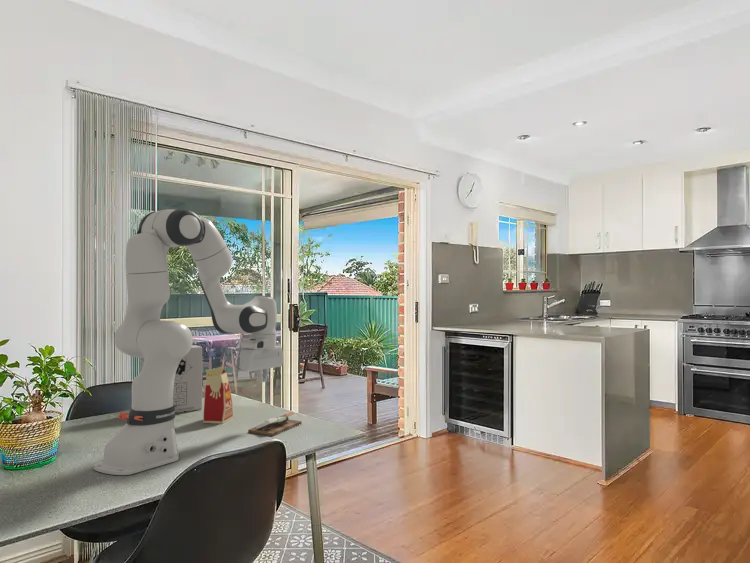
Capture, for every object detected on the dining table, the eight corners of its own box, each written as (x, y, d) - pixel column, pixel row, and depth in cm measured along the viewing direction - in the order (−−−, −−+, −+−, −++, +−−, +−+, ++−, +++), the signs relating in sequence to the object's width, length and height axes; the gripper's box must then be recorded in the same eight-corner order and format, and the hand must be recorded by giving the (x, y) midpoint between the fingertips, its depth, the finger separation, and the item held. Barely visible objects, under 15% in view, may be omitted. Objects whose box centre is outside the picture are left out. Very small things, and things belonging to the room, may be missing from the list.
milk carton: (233, 417, 194) (233, 363, 195) (224, 423, 185) (224, 367, 185) (210, 416, 195) (210, 363, 195) (199, 423, 186) (199, 367, 186)
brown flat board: (273, 436, 169) (273, 429, 169) (248, 432, 174) (248, 425, 174) (301, 423, 185) (301, 417, 185) (278, 421, 189) (278, 414, 189)
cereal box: (196, 406, 213) (197, 345, 214) (202, 409, 207) (202, 346, 207) (139, 413, 201) (140, 348, 201) (143, 417, 195) (144, 350, 195)
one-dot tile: (269, 423, 172) (268, 420, 172) (256, 429, 174) (255, 426, 174) (277, 420, 175) (275, 417, 176) (264, 426, 178) (262, 423, 178)
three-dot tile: (287, 416, 181) (286, 413, 181) (274, 422, 183) (273, 419, 183) (293, 414, 184) (292, 411, 185) (281, 419, 187) (279, 417, 187)
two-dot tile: (279, 422, 176) (278, 418, 176) (265, 423, 179) (264, 420, 179) (286, 419, 180) (285, 416, 180) (272, 421, 182) (271, 417, 182)
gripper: (273, 340, 192) (272, 378, 192) (237, 343, 174) (235, 384, 173) (287, 341, 190) (286, 379, 189) (252, 344, 171) (250, 386, 171)
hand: (262, 382), depth 181 cm, fingers closed
